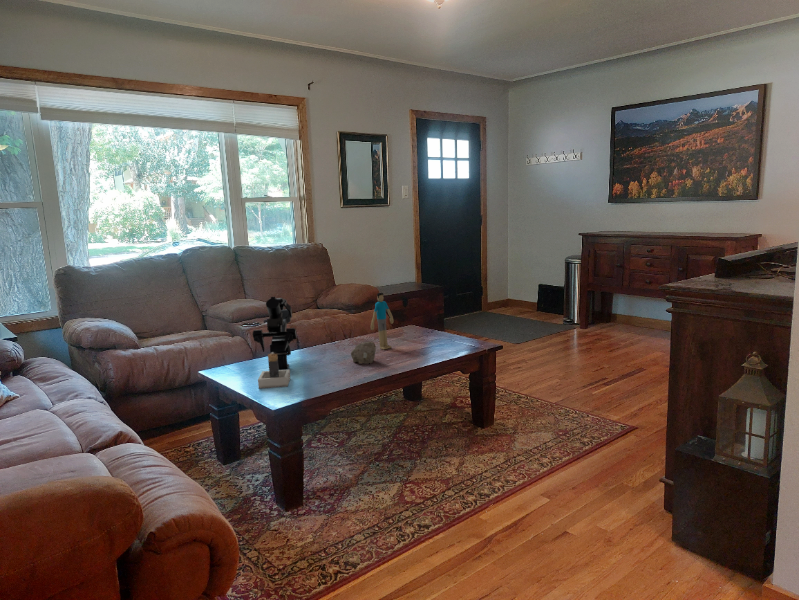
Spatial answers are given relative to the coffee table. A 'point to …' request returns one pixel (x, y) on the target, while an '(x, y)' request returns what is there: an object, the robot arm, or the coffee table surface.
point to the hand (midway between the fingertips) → (274, 350)
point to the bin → (274, 379)
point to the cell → (273, 365)
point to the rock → (364, 353)
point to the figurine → (381, 320)
